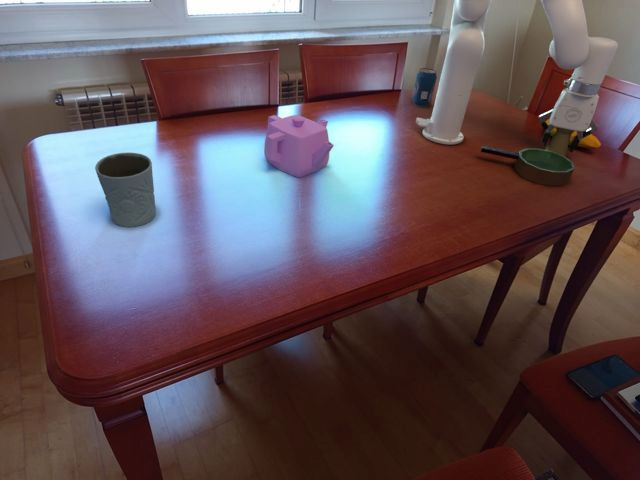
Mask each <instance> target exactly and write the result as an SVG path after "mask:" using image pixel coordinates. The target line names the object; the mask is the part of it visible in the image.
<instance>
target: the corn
mask: <svg viewBox="0 0 640 480" xmlns="http://www.w3.org/2000/svg"><path fill="white" fill-rule="evenodd" d="M549 118H550V117H548V118H546V120H545V121H546V123H547V125H548V124H549V123H550V119H549ZM556 130H557V129H556V127H555V128H554V129H553V130H551V132H550V137H551V138H552V137H553V135H554V134H555V132H556ZM576 135H577V131H574V132H573V133H572V134H571V137H570V141H569V144H568V146H570V145H571V143H572V141H573V138H574V136H576ZM601 145H602V144H601V142H600V140H599V139H598V138H597V137H596V136H595V135H593V133H592V134H590V135H589V136H587V137H584V138H583V139H582V140H580V142H579V144H578V146H577V147H580V148H585V149H592V150H596V149H599V148H600V147H601Z"/></svg>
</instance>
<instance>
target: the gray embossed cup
mask: <svg viewBox="0 0 640 480" xmlns="http://www.w3.org/2000/svg"><path fill="white" fill-rule="evenodd" d="M94 167H95V168H94V169H95V173H96V176H97V178H98V181H99V184H100V186H101V189H102V191H103V194H104V196H105V201H106V203H107V206H108V209H109V214H110V218H111V220H112V221H113V223H114V224H115V225H117V226H120V227H124V228H137V227H140V226H144V225H147V224H148V223H149V224H150V222H152V221H153V220H154V219H155V217H156V215H157V210H156V209H157V208H156V198H155V187H154V186H155V185H154V177H153V174H154V173H153V162H152V160H151V158H150V157H148V156H147V155H145V154H142V153H139V152H119V153H114V154H110V155H107V156H105V157H102V158H101V159H99V160H98V161H97V163H96V164H95V166H94Z"/></svg>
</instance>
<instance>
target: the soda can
mask: <svg viewBox="0 0 640 480" xmlns="http://www.w3.org/2000/svg"><path fill="white" fill-rule="evenodd" d="M437 78H438V76H437V71H436V70H435V69H432V68H427V67H423V68H420V69H419V70H418V72H417V73H416V77H415V83H414V88H413V92H412V98H411V101H412V105H414V106H416V107H419V108H427V107H428V106H430V104H431V103H432V100H433V96H434V91H435V87H436V82H437Z"/></svg>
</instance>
